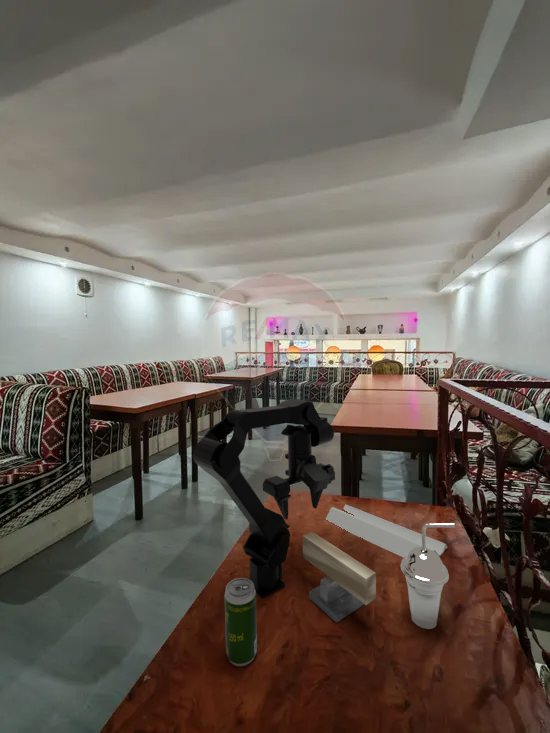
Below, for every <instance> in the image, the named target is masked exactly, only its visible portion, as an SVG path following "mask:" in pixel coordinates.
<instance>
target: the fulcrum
mask: <svg viewBox="0 0 550 733" xmlns="http://www.w3.org/2000/svg"><path fill="white" fill-rule="evenodd" d="M319 582H320V585H319V586H316V587H315V588H313V589H311V590H309V592H308V598H309V600H310V601H311V602H313V603H314V604H315V605H316V606H317V607H318V608H319V609H320V610H321V611H322V612H323V613H325V615H327V616H328V617H329V618H330V619H332V621H333V622H335V623H336V624H337V623H338V622H340V621H342V620H343V619H344V618H346V617H348V616H349V615H350V614H352V613H354V612H355V611H356V610H358V609H359V608H361V607H363V606H364V605H365V604H364V603H363V602H361V601H360V600H359V599H357V598H356V597H355V596H353V595H352V594H351V593H349V592H348V591H347V590H345V589H344V588H343V587H342V586H340V585H339V584H338V583H336V582H335V581H334V580H332V579H331V578H330V577H328V576H327V575H326V576H325V577H323V578H321V579H320V581H319Z"/></svg>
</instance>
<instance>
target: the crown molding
mask: <svg viewBox="0 0 550 733" xmlns="http://www.w3.org/2000/svg"><path fill="white" fill-rule="evenodd" d="M342 509H344V510H345V511H347V512H348V513H351V514H353V515H354V516H353V515H351V514H348V513H346V512H344V511H342ZM342 509H339V508H336V507H334V506H332V507H331V508H330V510H329V511H328V513H327V516H326V517H325V519H326V520H328V521H329V522H332V523H334V524H335V525H337V526H339V527H341V528H342V529H341V528H340V529H341V530H343V529H345V530H346V532H347V531H348V533H349V532H350V534H351V535H354V536H355V537H358V538H360V537H361V538H360V539H362V538H363V540H364V541H367V542H368V543H371V544H373V545H376V546H378V547H380V548H382V549H384V550H386V551H388V552H391V553H393V554H395V555H398V556H399V557H401V558H402V559H403V558H404V557H405V556H407V554H408V552H409V551H410V550H412V549H413V548H416V547H422V533H420V532H417V531H414V530H411V529H409V528H407V527H404V526H402V525H400V524H396V523H395V522H391V521H390V520H386V519H383V518H381V517H379V516H377V515H374V514H372V513H369V512H366V511H364V510H361V509H358V508H356V507H353V506H352V505H348V504H346V503H345V504H344V506H343V508H342ZM339 527H338V528H339ZM345 530H344V531H345ZM426 548H428V549H430V550H432V551H433V552H435V553H436V554H437V555H438V556H439V557H440V556H442V555H443V554H444V553H445V550H447V549H448V545H447V544H446V543H444V542H442V541H440V540H437V539H435V538H432V537H430V536H427V535H426ZM440 558H441V557H440Z"/></svg>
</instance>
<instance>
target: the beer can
mask: <svg viewBox="0 0 550 733" xmlns="http://www.w3.org/2000/svg"><path fill="white" fill-rule="evenodd" d="M223 595H224V626H225V628H224V630H225V632H224V633H225V652H226V653H225V655H226V657H227V659H228V661H229V663H231V664H232V665H233V666H236V667H244V666H248V665H249V664H251V663H252V661H254V659H255V657H256V654H257V652H258V631H257V630H258V629H257V624H258V623H257V593H256V590H255V588H254V583H253V582H252V581H251V580H249V578H246V577H239V578H237V577H236V578H234V579H232V580H230V581H229V582H228V583H227V584H226V586H225V591H224V594H223Z"/></svg>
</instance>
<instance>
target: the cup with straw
mask: <svg viewBox="0 0 550 733" xmlns="http://www.w3.org/2000/svg"><path fill="white" fill-rule="evenodd" d="M428 528H456V525H455V523H454V522H450V523H449V522H447V523H445V522H443V523H442V522H441V523H440V522H436V523H435V522H431V523H430V522H427V523H424V524H422V527H421V534H422V547H416V548H413V549H412V550H410V551H409V552H408V554H407V556H405V557H404V558H403V557H402V559H401V561H400V569H401V572H402V573H403V575H404V577H405V581H406V584H407V593H408V602H409V610H410V613H411V614H410V617H411V621H412V622H413V623H414V624H416V626H418V627H420V628H422V629H426V630H430V629H434V628H436V626H437V623H438V617H439V609H440V604H441V596H442V591H443V587H444V585H445V584H446V583H448V581H449V580H450V579H449V578H450V575H449V571H448V568H447V566H446V565H445V564H444V563H443V561H442V559H441V557H439V556H438V555H437V554H436V553H435V552H433V551H432V550H430V549H428V548H426V536H427V529H428Z"/></svg>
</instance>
